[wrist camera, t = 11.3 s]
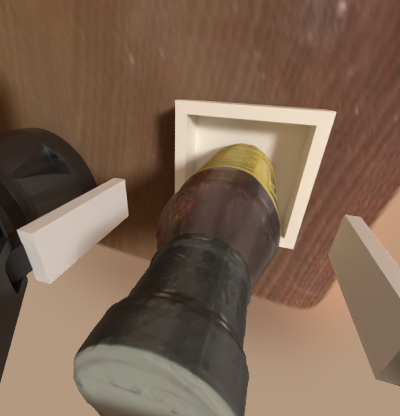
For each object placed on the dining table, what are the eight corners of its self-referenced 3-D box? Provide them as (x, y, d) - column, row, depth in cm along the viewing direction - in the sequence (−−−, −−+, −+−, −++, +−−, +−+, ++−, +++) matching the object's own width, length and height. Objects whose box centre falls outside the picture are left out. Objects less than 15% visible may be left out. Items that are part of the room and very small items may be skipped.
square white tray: (186, 208, 27) (174, 225, 23) (190, 99, 21) (175, 99, 18) (289, 227, 24) (293, 249, 21) (324, 109, 19) (336, 111, 15)
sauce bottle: (254, 210, 23) (214, 511, 6) (202, 184, 24) (31, 405, 7) (288, 153, 20) (393, 467, 3) (226, 125, 21) (16, 264, 3)
